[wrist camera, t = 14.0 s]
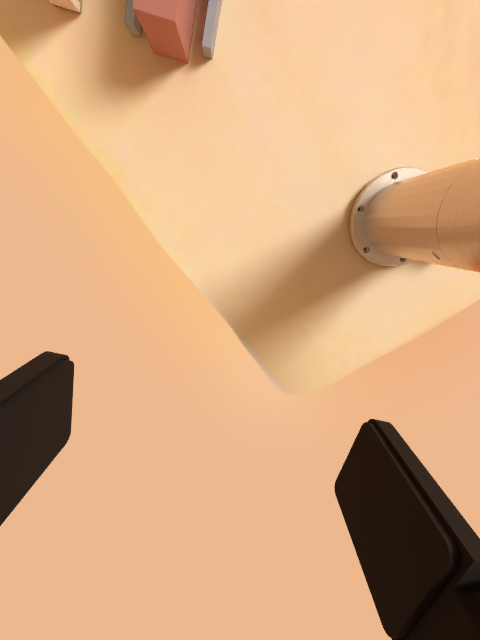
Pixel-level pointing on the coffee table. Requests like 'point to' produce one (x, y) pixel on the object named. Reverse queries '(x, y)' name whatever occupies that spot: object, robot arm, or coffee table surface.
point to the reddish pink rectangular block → (168, 25)
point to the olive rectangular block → (68, 4)
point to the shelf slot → (209, 29)
